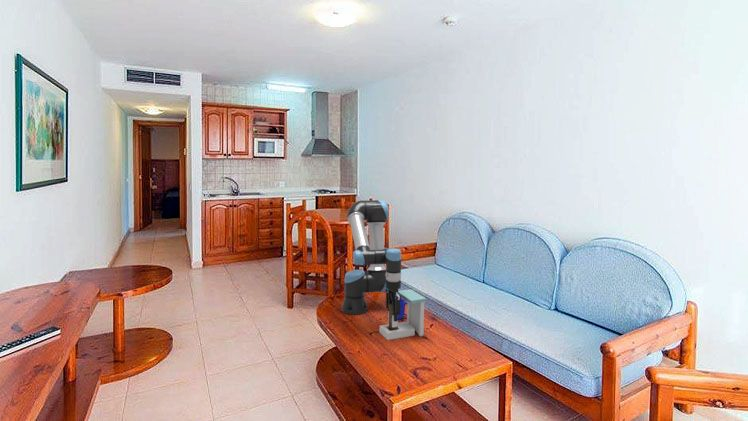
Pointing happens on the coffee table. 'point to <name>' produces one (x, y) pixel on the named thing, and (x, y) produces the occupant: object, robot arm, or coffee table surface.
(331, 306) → the coffee table surface
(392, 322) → the robot arm
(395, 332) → the station
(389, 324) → the peg
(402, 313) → the mug
